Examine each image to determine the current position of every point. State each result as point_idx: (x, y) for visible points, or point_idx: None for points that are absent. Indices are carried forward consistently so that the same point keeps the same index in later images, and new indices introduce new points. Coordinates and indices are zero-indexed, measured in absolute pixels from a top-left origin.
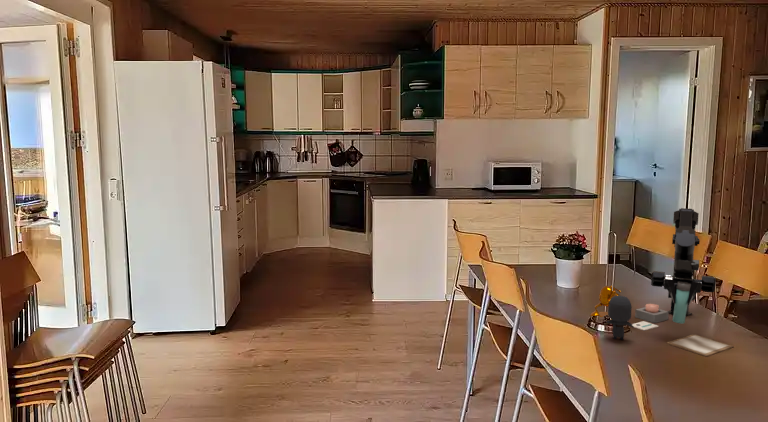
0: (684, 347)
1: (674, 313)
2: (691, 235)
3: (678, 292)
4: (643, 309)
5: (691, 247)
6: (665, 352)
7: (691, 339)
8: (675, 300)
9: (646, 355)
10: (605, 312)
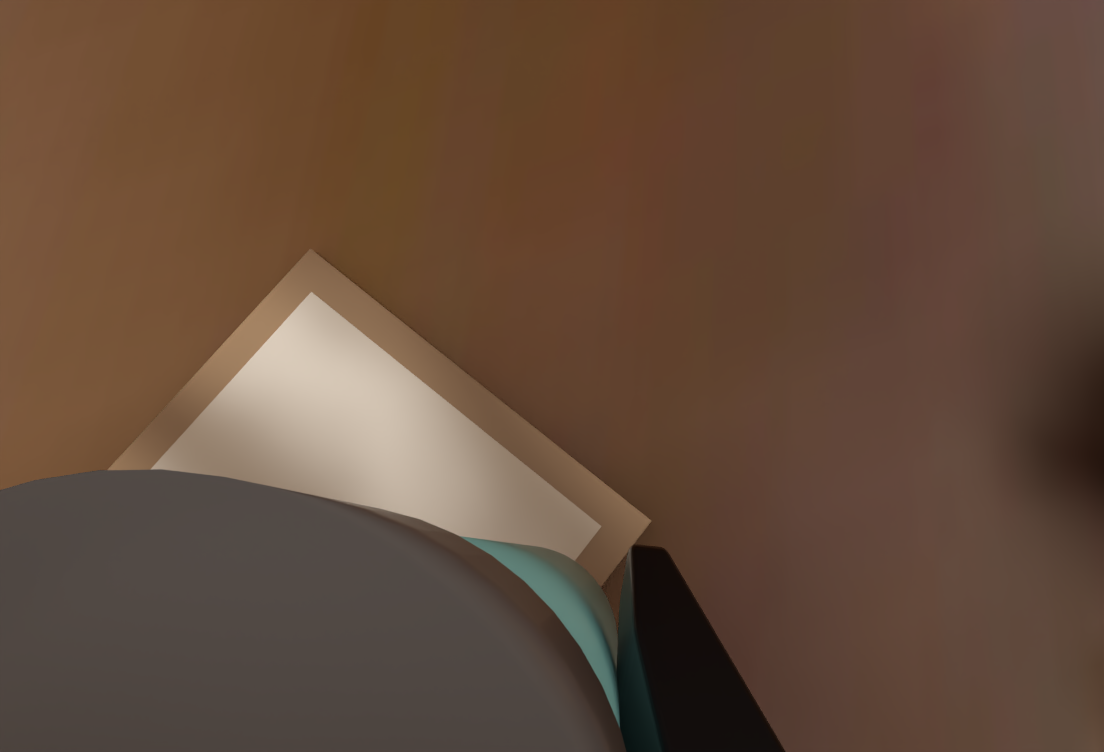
0: (483, 413)
1: (605, 605)
2: None
3: (561, 619)
4: None
5: None
6: (679, 241)
7: None
8: (632, 572)
9: (853, 103)
10: None
